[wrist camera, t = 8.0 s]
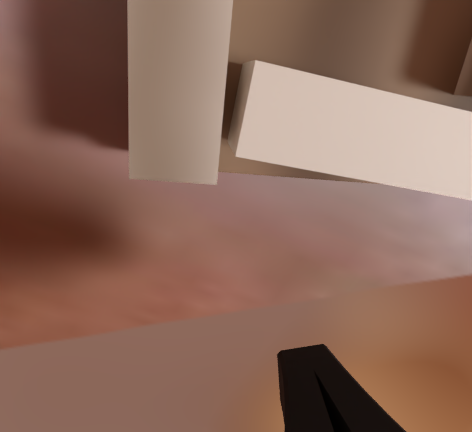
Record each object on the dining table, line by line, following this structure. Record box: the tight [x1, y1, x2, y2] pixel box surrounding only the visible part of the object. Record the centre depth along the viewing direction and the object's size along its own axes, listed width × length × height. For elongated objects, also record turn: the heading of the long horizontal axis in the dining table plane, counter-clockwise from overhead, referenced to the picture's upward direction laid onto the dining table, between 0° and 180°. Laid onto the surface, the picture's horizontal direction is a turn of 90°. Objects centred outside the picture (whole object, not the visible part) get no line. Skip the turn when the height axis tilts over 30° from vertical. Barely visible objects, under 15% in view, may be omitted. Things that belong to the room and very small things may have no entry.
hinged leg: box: [227, 60, 472, 200], centre depth 11 cm, size 10×2×3 cm, turn 78°
